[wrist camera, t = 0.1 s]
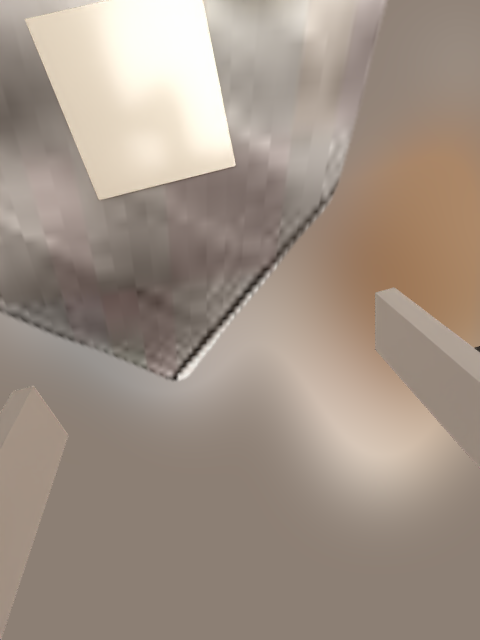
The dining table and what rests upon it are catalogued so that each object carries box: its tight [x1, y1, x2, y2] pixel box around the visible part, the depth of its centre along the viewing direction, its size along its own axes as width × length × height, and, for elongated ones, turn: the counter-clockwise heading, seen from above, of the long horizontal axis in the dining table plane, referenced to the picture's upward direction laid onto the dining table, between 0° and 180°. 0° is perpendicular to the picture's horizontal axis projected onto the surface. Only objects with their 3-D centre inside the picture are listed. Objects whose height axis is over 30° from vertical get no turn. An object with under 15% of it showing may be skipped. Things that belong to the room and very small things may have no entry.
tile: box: [25, 0, 236, 200], centre depth 32 cm, size 14×14×1 cm
